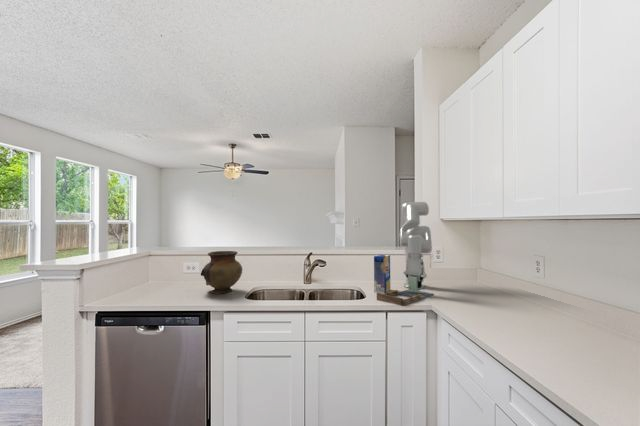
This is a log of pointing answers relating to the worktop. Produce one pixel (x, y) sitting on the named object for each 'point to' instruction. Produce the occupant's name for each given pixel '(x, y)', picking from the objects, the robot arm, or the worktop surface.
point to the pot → (222, 271)
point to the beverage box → (381, 273)
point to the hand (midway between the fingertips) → (415, 286)
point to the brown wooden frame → (396, 298)
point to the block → (413, 283)
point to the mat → (415, 293)
